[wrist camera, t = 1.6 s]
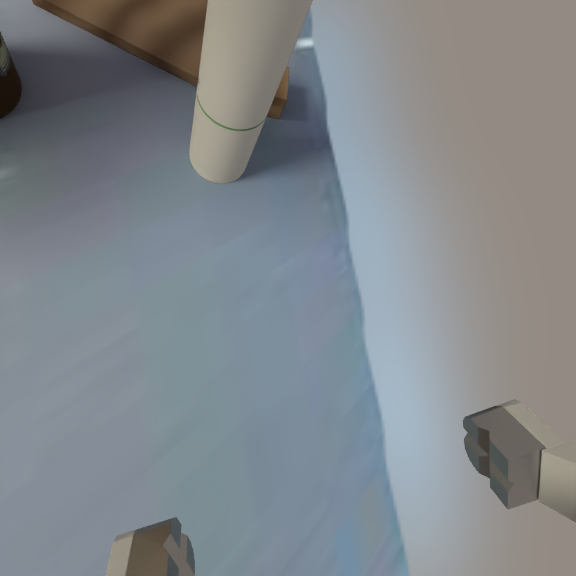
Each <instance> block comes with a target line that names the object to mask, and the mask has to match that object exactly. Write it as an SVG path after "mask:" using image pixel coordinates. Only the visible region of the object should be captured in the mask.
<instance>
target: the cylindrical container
mask: <svg viewBox="0 0 576 576" xmlns="http://www.w3.org/2000/svg"><path fill="white" fill-rule="evenodd" d="M312 1H313V0H208V3H207V11H206V19H205V28H204V36H203V44H202V52H201V60H200V68H199V77H198V85H197V93H196V101H195V109H194V117H193V125H192V133H191V142H190V150H189V157H190V161H191V164H192V166H193V168H194V169H195V170H196V172H197V173H198V174H199V175H201V176H202V177H203V178H205V179H206V180H209V181H211V182H215V183H222V184H223V183H230V182H233V181H235V180H237V179H238V178H239V177H241V176H242V174H243V173H244V171H245V169H246V167H247V164H248V162H249V159H250V157H251V154H252V152H253V149H254V147H255V144H256V142H257V139H258V137H259V134H260V132H261V129H262V127H263V124H264V122H265V119H266V117H267V114H268V112H269V109H270V107H271V104H272V102H273V99H274V97H275V94H276V92H277V89H278V87H279V84H280V82H281V79H282V76H283V74H284V71H285V69H286V66H287V64H288V61H289V59H290V56H291V54H292V51H293V49H294V46H295V44H296V41H297V39H298V36H299V34H300V31H301V29H302V26H303V24H304V21H305V19H306V16H307V14H308V11H309V9H310V6H311V4H312Z"/></svg>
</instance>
